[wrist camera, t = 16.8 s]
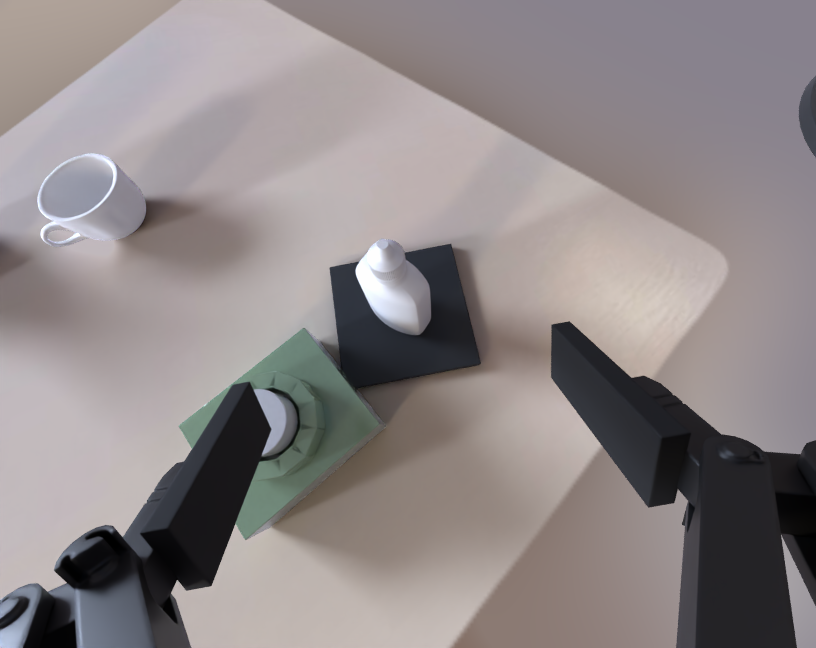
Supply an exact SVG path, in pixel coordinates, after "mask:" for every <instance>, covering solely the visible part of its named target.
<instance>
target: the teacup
mask: <svg viewBox="0 0 816 648" xmlns="http://www.w3.org/2000/svg"><path fill="white" fill-rule="evenodd" d="M38 207H39V210H40V211H41V213H42V214H43V215H44V216H45V217H47V218H48V219H50V220H52V222H51V223H49V224H47V225H46V226H44V227H43V229H42V230H41V238H42V239H43V240H44V241H45V242H46V243H47V244H49V245H51V246H54V247H63V246H68V245H71V244H74V243H77V242H79V241H81V240H84V239H87V238H91V239H96V240H117V239H121V238H124V237H126V236H128V235H130V234H131V233H133V232H134V231H135V230H137V229H138V227H139V226H140V225H141V224H142V222H143V220H144V218H145V214H146V203H145V199H144V196H143V194H142V192H141V190H140V189H139V188H138V186H137V185H136V184H135V183H134V182H133V181H132V180H131V179H130V178H129V177H128V176H127V175H126V174H125V173H124V172H123V171H122V170H121V169H120V168H119V167H118V166H117V165H116V164H115V163H114V162H113V161H112V160H111V159H110V158H108V157H107V156H104V155H101V154H94V153H92V154H84V155H80V156H76V157H74V158H71V159H69V160H67V161H66V162H64V163H62V164H61V165H59V166H58V167H57V168H56V169H54V170H53V171H52V172H51V173H50V174H49V176H48V177H47V178H46V179H45V181H44V182H43V184H42V186H41V188H40V190H39V194H38ZM55 230H65V231H72V232H75V234H74V235H73V236H72V237H71V238H69V239H67V240H65V241H61V242H54V241H51V240H49V239H48V237H47V236H48V234H49V232H51V231H55Z"/></svg>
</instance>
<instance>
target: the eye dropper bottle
mask: <svg viewBox="0 0 816 648" xmlns="http://www.w3.org/2000/svg"><path fill="white" fill-rule="evenodd" d="M356 276H357V278H358V281H359V283H360V285H361V287H362V290H363V292H364V294H365V296H366V298H367V300H368V302H369V304H370V306H371V308H372V310H373V311H374V313H375V314H376V315H377V316H378V318H379V319H380V320H381V321H383V322H384V323H385V324H386V325H388V326H389V327H391V328H393V329H395V330H397V331H399V332H402V333H405V334H409V335H420V334H421V333H422V332H423V331H424V330H425V328H426V327H427V325H428V323H429V322H430V320H431V299H430V288H429V284H428V282H427V280H426V279H425V277H424V276H423V275H422V274H421V272H420V271H419V270H418V269H417V268H416V267H415V266H414V265H412V264H411V263H410V262H408V261H407V260H406V259H405V253H404V250H403V247H402V246H400V244H399V243H398V242H396V241H393V240H389V239H388V240H387V239H380V240H379V241H378V242H376V243H374V244H373V245H372V246H371V247H370V249H369V251H368V253H367V254H366V255H365V256H364V257H363V258H362V259H361V261H360V262H359V264H358V265H357V267H356Z"/></svg>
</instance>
